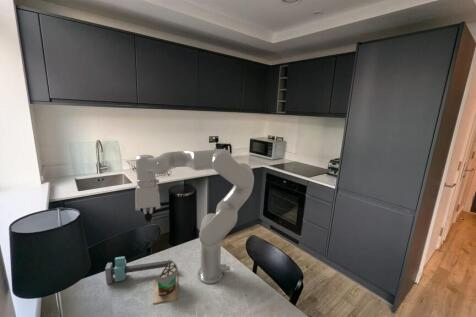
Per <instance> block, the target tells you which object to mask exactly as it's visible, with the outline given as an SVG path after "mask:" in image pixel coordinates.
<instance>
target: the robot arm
mask: <svg viewBox="0 0 476 317" xmlns="http://www.w3.org/2000/svg"><path fill="white" fill-rule="evenodd" d="M135 167H136V170H135V171H136V182H137V183H136V184H137V185H135V193H134V194H135V196H134V200H135V202H134V203H135V204H134V205H135V209H134V210H135V211H140V212H142V213H143V214H144V219H145V220H146V223H150V222H151V221H152V220H153V212H155V210H158V209H161V203H160V202H161V197H160V189H159V186H158V183H160V179H157V178H156V175H165V174H168V172H169V171H171V169H172V168H181V167H183V168H184V167H185V168H189V169H192V170H194V171H196V172H197V171H206V170H207V171H208V170H214V171H215V172H216V173H217V174H218V175H219V176H221V177H223V179H225V180H226V181H228V182H229V183H230V184H232V185H233V186H232V188H231V189H230V190H229V192H228V193H226V195H225V196H224V197H223V198H222V199H221V200H220V201H219V202H218V203H217V205H216V209H215V213H213V212H212V213H211V212H210V213H207V214H206V215H204V217H203V218H202V220H201V224H200V229H199V234H198V236H199V237H198V238H199V241H200V268H198V271H197V279H198V280H199V281H201V282H202V283H204V284H211V285H212V284H215V283H218V282H219V281H221V279H222V278H223V276H224V272H225V271H230V270H231V267H230V265H227V264H226V263H223V264H221V263H222V262H221V261H222V258H221V257H222V256H221V254H222V250H221V249H222V240H223V239H224V238H225V237H226V236H227V235H228V234H229V233H230V232H231V230H232V229H233V228H234V227H235V226H236V224H237V222H238V213H239V212H238V211H239V210H240V209H241V207H242V206H243V205H244V204H245V203H246V201H247V200H248V199H249V197H250V195H251V194H252V192H253V188H254V184H255V183H254V182H255V175H254V173H253V172H254V171H253V169H252V167H251V166H250V165H249V164H248V163H244V162H241V163H239V162H238V161H236V160H235V159H234V158H233V156H232V154H231V152H230V150H228V149H225V148H217V149H207V150H189V151H188V150H185V151H184V150H181V151H179V150H178V151H169V152H168V151H167V152H163V153H162V154H160V155H159V156H156V157H154V156H153V155H151V154H141V155H138V156H136V158H135ZM148 208H149V211H148Z"/></svg>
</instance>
